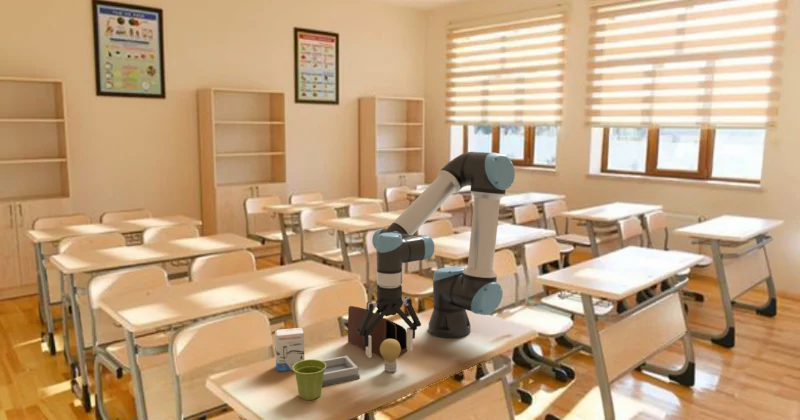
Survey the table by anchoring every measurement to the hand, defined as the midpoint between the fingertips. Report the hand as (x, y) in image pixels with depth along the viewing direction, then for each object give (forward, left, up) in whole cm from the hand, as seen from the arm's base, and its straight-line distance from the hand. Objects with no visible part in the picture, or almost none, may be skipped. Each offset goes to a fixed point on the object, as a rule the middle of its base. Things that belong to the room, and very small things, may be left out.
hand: (389, 352), depth 183 cm
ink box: (+27, -16, -6) cm, 32 cm away
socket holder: (+17, -5, -6) cm, 18 cm away
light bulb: (0, 0, -6) cm, 6 cm away
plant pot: (+26, +5, -6) cm, 28 cm away
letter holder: (-4, -20, -6) cm, 21 cm away
